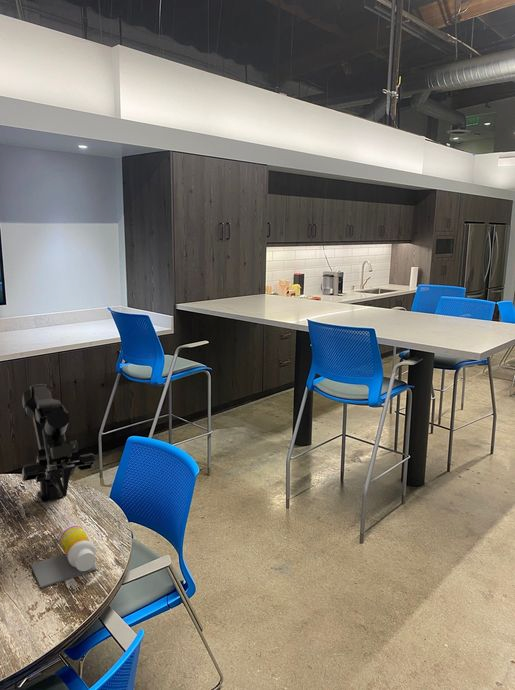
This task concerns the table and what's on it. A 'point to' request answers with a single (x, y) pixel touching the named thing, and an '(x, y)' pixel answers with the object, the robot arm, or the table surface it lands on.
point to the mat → (56, 570)
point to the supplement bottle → (78, 547)
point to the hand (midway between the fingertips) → (64, 496)
